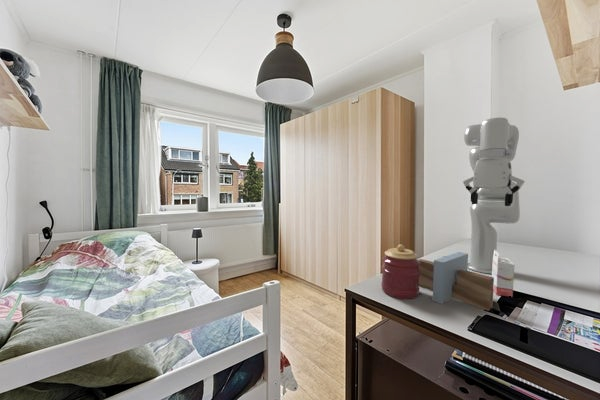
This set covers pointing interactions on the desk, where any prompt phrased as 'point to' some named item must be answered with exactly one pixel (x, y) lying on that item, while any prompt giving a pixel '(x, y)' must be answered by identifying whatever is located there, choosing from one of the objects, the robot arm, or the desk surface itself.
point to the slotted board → (462, 285)
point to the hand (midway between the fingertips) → (490, 204)
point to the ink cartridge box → (502, 275)
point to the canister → (400, 273)
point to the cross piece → (447, 275)
